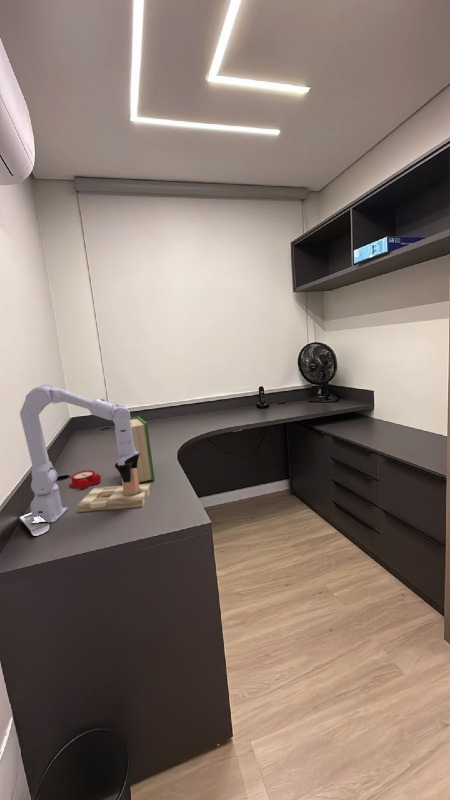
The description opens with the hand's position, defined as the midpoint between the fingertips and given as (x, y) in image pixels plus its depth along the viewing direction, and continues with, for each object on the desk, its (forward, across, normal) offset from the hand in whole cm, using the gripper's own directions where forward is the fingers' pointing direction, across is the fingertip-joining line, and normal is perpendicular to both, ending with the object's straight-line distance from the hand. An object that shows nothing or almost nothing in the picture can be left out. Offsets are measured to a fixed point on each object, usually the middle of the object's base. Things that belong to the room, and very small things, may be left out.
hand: (130, 477), depth 123 cm
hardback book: (+8, +22, +3) cm, 24 cm away
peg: (+5, 0, 0) cm, 5 cm away
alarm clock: (+8, +19, +25) cm, 33 cm away
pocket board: (+8, 0, +6) cm, 10 cm away
